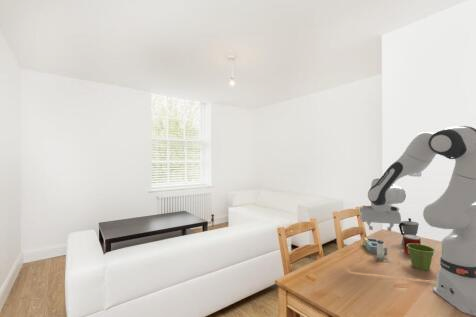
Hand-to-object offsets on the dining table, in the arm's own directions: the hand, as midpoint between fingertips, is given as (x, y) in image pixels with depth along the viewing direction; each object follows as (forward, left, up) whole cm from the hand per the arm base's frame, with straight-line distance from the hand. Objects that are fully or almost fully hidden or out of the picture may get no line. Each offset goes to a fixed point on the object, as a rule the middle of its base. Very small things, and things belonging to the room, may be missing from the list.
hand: (379, 230), depth 131 cm
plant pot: (-6, -17, -17) cm, 25 cm away
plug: (0, 0, -16) cm, 16 cm away
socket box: (+15, -1, -17) cm, 23 cm away
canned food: (+13, -21, -17) cm, 30 cm away
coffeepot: (+30, -26, -17) cm, 43 cm away
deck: (0, 0, -17) cm, 17 cm away
